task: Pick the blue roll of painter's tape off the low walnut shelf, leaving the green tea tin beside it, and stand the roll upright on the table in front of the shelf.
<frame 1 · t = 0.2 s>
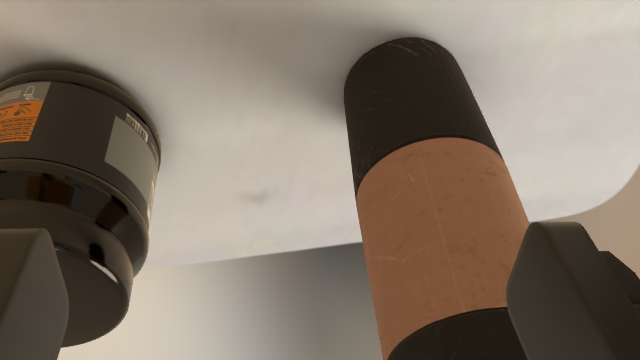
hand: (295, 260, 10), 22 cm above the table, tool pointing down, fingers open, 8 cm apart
supplement container: (76, 130, 37), on the table
travel mug: (401, 86, 36), on the table
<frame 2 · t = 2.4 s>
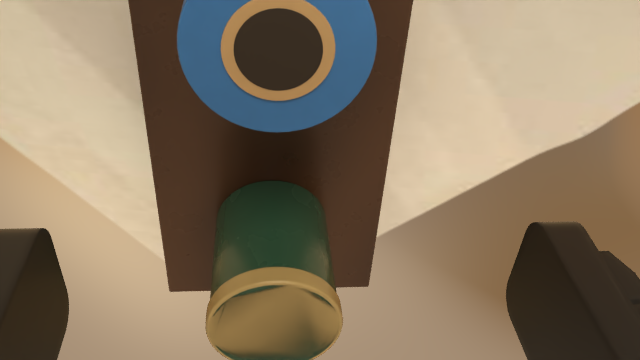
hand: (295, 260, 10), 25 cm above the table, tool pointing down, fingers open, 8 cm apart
tea tin: (271, 222, 28), point 12 cm above the table, touching shelf
shelf: (267, 5, 34), on the table
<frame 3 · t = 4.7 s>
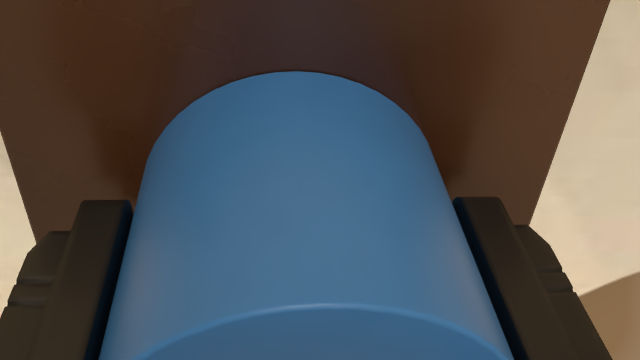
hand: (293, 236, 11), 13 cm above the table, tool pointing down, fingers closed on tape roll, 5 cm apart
tape roll: (292, 200, 12), point 12 cm above the table, touching gripper, shelf
shelf: (274, 115, 24), on the table
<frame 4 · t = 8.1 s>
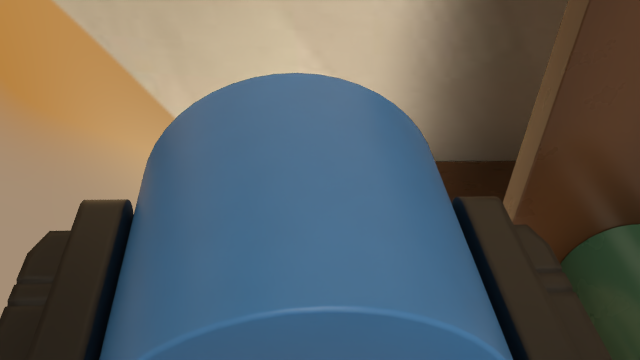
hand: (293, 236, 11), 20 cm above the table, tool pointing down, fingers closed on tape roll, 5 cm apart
tape roll: (292, 201, 12), point 19 cm above the table, touching gripper
tea tin: (614, 269, 24), point 12 cm above the table, touching shelf
shelf: (540, 20, 30), on the table
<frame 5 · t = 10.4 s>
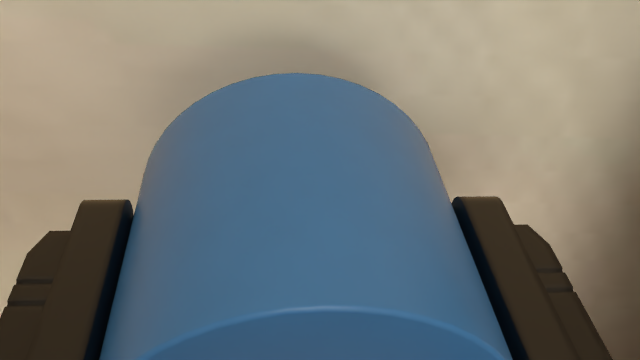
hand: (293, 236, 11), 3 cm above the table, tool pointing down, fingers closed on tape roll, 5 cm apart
tape roll: (292, 201, 12), point 2 cm above the table, touching gripper
when the fingers open (1 cm above the table, at t = 11.7 s): tape roll stays where it is, on the table.
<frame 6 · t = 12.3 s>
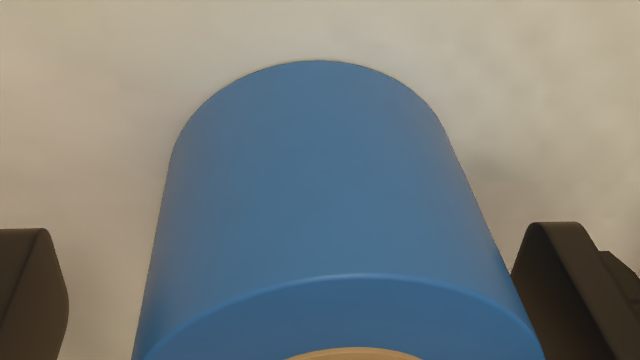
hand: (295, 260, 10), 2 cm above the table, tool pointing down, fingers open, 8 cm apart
tape roll: (312, 187, 12), on the table
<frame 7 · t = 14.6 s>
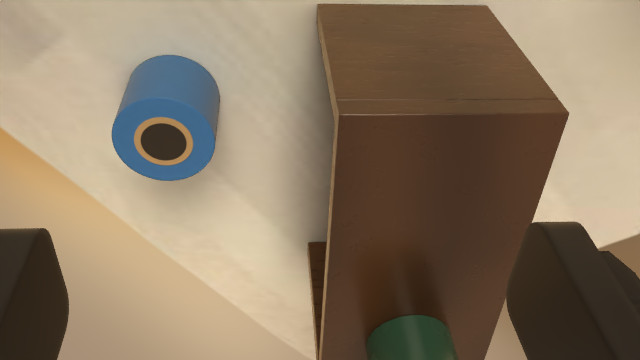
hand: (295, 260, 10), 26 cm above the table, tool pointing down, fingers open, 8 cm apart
tape roll: (174, 96, 37), on the table
tea tin: (408, 342, 35), point 12 cm above the table, touching shelf
shelf: (384, 146, 41), on the table
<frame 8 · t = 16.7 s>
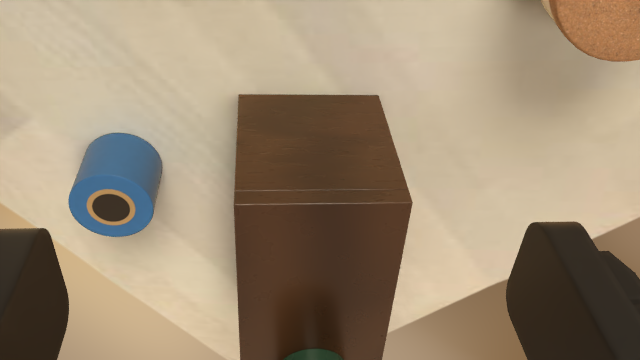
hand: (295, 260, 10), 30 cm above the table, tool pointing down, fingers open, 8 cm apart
tape roll: (123, 163, 45), on the table
shelf: (304, 202, 49), on the table
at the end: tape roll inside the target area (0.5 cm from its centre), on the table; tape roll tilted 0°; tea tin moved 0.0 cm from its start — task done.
